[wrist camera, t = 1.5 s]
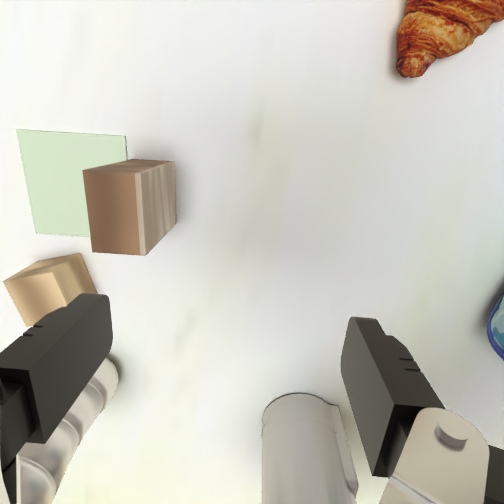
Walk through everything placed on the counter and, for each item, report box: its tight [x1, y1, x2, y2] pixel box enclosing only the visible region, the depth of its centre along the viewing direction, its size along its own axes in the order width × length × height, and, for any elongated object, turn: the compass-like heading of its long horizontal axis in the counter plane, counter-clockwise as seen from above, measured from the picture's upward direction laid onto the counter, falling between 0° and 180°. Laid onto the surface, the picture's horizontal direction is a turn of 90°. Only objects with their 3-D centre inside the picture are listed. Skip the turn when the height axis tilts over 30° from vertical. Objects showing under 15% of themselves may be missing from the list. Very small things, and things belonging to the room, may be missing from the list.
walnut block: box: [82, 159, 176, 256], centre depth 27 cm, size 4×6×9 cm, turn 177°
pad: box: [16, 130, 127, 237], centre depth 31 cm, size 10×10×1 cm
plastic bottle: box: [18, 358, 119, 504], centre depth 30 cm, size 6×7×20 cm
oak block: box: [3, 253, 98, 327], centre depth 33 cm, size 5×5×5 cm
